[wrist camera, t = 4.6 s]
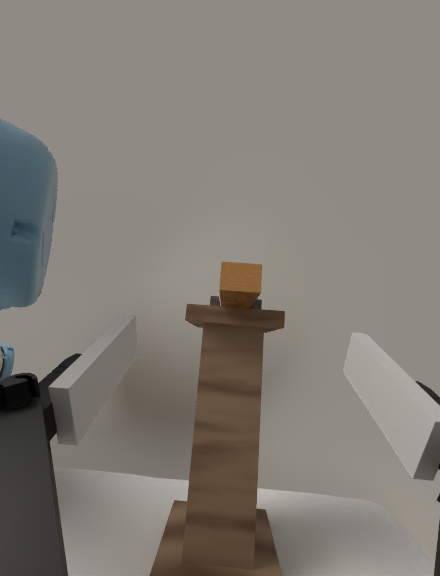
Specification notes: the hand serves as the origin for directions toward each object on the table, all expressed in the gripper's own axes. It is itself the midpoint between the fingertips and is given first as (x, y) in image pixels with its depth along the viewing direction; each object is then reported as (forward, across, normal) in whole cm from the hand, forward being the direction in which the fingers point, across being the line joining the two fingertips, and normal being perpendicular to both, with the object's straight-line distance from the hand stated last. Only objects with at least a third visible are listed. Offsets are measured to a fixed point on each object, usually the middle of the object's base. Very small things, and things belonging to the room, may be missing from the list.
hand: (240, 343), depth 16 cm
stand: (+6, 0, -33) cm, 34 cm away
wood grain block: (+17, 0, -5) cm, 18 cm away
